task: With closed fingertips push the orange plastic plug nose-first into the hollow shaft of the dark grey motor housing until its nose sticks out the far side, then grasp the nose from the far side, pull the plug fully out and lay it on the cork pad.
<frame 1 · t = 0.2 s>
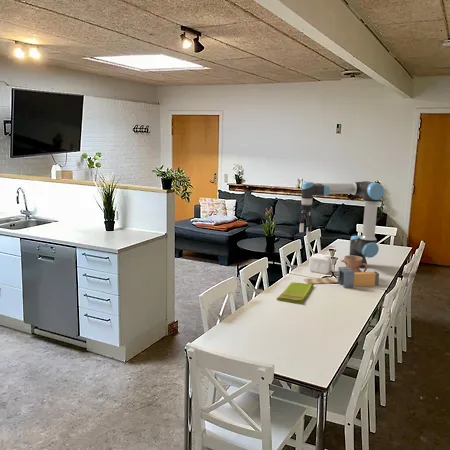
hand: (304, 234, 325), 28 cm above the table, fingers open, 13 cm apart
housing: (345, 285, 302), on the table
ceramic jug: (352, 277, 321), on the table
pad: (320, 281, 309), on the table
plug: (364, 284, 305), on the table
dish towel: (296, 294, 284), on the table
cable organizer: (320, 271, 333), on the table
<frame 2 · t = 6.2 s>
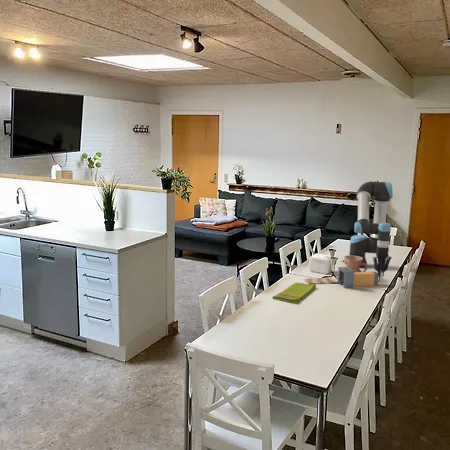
hand: (380, 281, 307), 2 cm above the table, fingers closed
plug: (363, 284, 305), on the table, touching gripper
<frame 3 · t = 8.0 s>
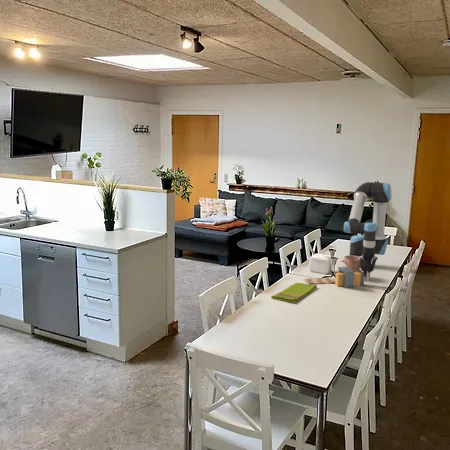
hand: (366, 281, 304), 2 cm above the table, fingers closed
plug: (349, 285, 303), on the table, touching gripper
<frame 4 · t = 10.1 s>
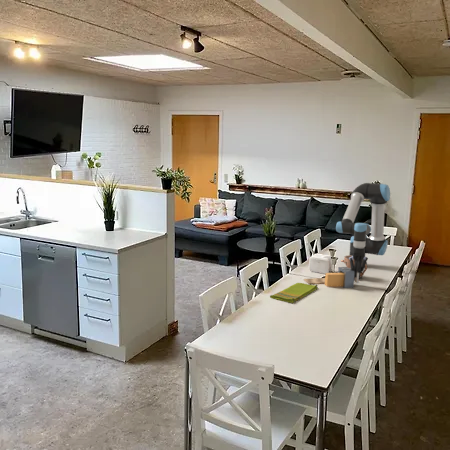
hand: (356, 282, 303), 2 cm above the table, fingers closed
plug: (339, 285, 302), on the table, touching gripper
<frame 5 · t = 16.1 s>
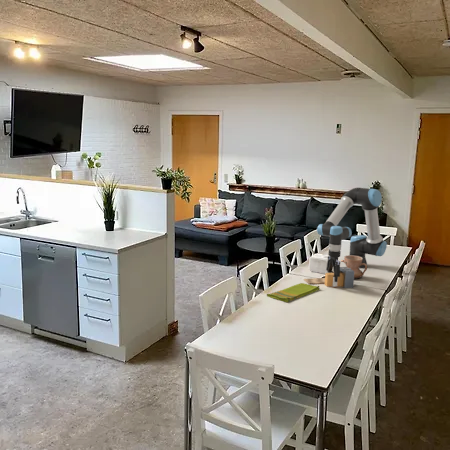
hand: (332, 284, 301), 1 cm above the table, fingers open, 8 cm apart
plug: (338, 285, 302), on the table
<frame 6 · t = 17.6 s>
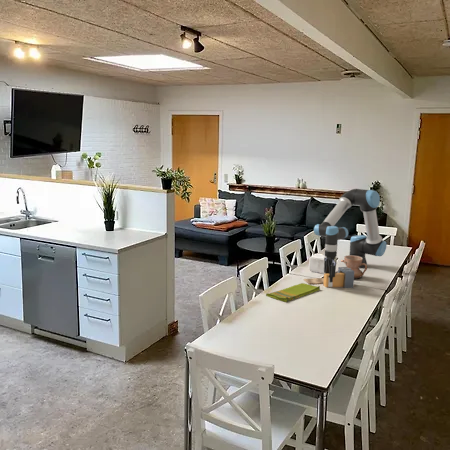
hand: (328, 285, 299), 0 cm above the table, fingers closed on plug, 4 cm apart
plug: (337, 285, 301), on the table, touching gripper
when the fingers open (2 cm above the table, at t = 23.1 s): plug drops 1 cm, resting on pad.
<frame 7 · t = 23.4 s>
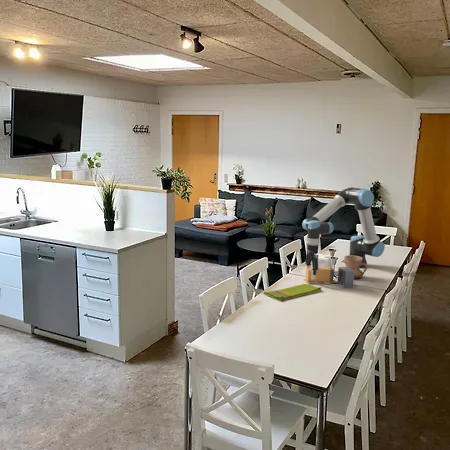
hand: (310, 277, 307), 3 cm above the table, fingers open, 9 cm apart
plug: (319, 280, 309), point 1 cm above the table, touching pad
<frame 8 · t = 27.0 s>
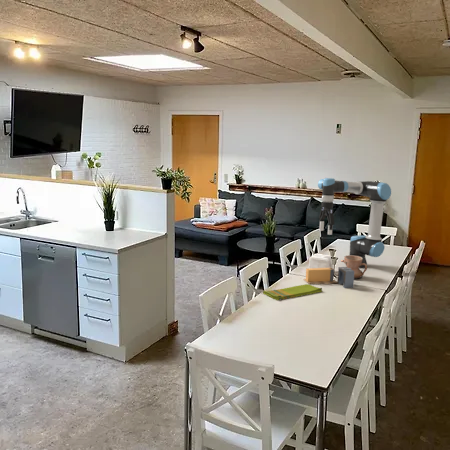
hand: (325, 232, 312), 32 cm above the table, fingers open, 13 cm apart
at the end: plug inside the target area on the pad (0.8 cm from its centre), point 0.8 cm above the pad's base; plug touching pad; the gripper is holding nothing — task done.
